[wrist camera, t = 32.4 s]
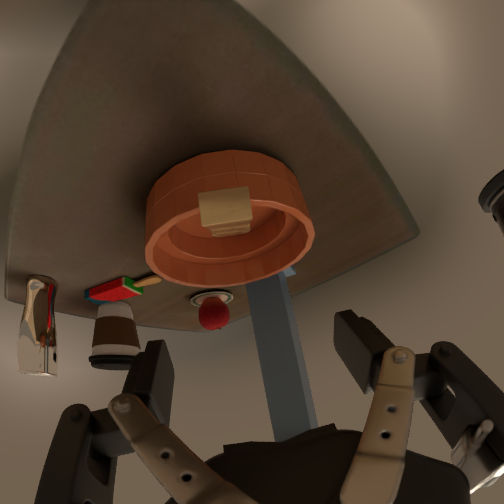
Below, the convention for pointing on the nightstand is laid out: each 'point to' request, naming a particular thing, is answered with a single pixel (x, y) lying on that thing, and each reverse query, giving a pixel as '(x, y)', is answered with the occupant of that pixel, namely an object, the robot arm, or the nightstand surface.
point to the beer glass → (38, 328)
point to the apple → (213, 309)
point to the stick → (226, 211)
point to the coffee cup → (114, 337)
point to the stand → (281, 356)
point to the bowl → (233, 246)
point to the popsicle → (119, 289)
